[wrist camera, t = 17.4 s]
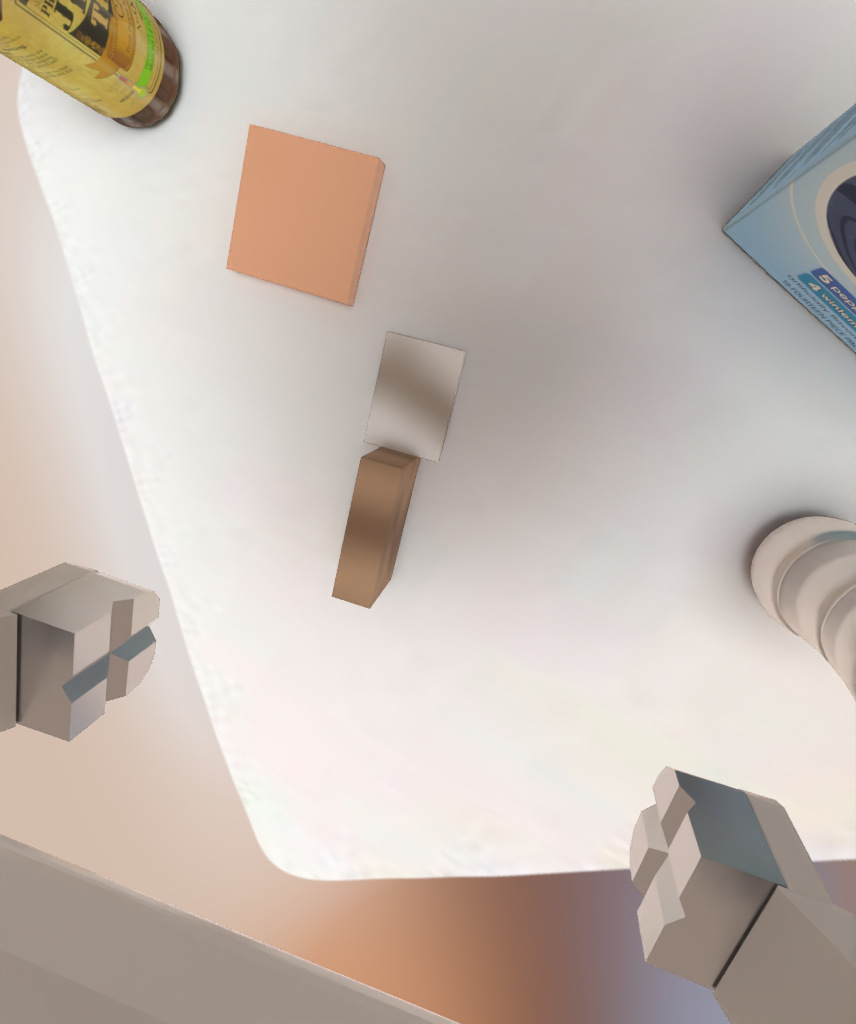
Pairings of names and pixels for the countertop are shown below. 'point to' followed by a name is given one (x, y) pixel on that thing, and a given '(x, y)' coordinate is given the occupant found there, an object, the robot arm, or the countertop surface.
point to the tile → (304, 214)
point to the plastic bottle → (812, 586)
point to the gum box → (810, 226)
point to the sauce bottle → (96, 54)
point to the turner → (395, 458)
